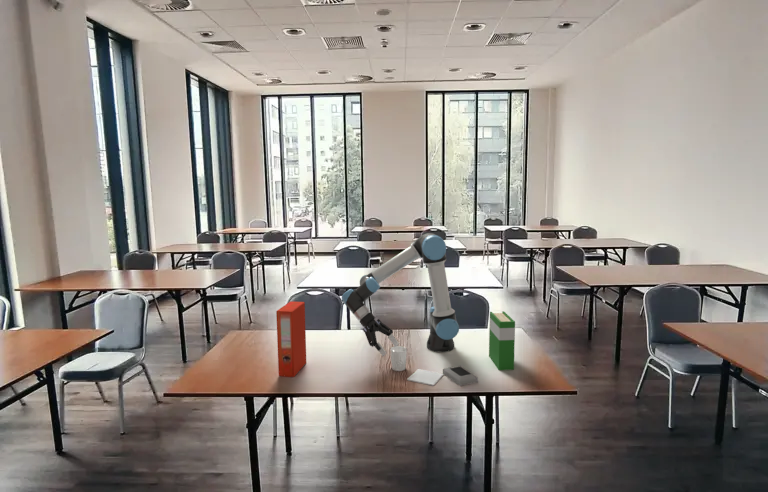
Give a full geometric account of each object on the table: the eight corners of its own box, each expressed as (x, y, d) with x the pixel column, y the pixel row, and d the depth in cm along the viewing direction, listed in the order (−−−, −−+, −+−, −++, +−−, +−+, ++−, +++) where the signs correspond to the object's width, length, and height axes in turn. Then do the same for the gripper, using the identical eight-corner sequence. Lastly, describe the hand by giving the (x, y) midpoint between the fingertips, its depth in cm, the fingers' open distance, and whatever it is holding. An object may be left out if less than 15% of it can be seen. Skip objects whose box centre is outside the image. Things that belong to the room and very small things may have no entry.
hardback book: (488, 356, 238) (489, 311, 235) (502, 355, 239) (504, 311, 235) (498, 370, 221) (499, 322, 217) (513, 369, 221) (515, 321, 218)
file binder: (307, 362, 233) (304, 301, 228) (294, 377, 216) (292, 311, 211) (291, 362, 234) (289, 301, 230) (278, 376, 217) (275, 310, 213)
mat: (418, 369, 222) (418, 368, 222) (443, 374, 216) (443, 373, 216) (407, 380, 211) (407, 379, 211) (433, 385, 205) (433, 384, 205)
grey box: (459, 363, 221) (477, 375, 208) (459, 370, 222) (477, 382, 208) (442, 366, 218) (459, 378, 204) (442, 374, 218) (459, 386, 205)
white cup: (408, 366, 227) (408, 346, 226) (404, 372, 220) (404, 352, 218) (392, 364, 229) (392, 345, 228) (388, 370, 222) (388, 351, 220)
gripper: (372, 314, 242) (398, 346, 237) (346, 327, 220) (374, 363, 215) (381, 305, 238) (407, 338, 234) (356, 318, 217) (384, 354, 212)
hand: (391, 350), depth 224 cm, fingers open, 13 cm apart
